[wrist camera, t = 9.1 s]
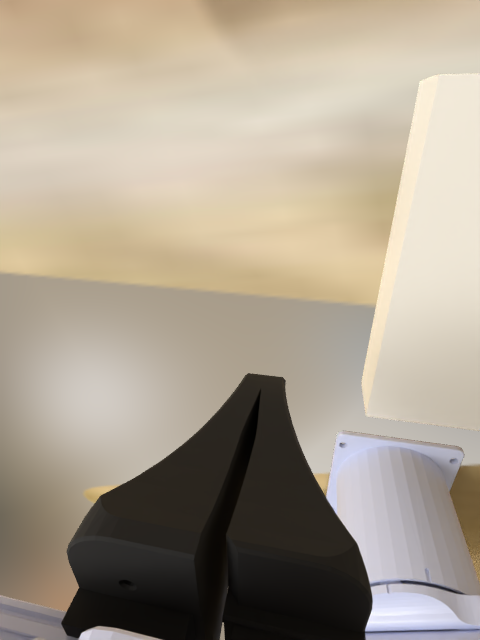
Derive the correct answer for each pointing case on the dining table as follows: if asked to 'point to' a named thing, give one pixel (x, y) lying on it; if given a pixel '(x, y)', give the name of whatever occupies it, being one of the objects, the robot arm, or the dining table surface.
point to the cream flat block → (432, 269)
